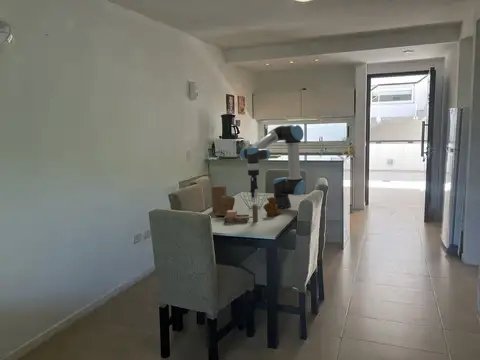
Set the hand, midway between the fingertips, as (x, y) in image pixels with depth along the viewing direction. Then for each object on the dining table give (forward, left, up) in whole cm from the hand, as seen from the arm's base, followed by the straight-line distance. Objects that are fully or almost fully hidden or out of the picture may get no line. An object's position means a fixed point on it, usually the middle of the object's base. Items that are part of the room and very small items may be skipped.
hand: (254, 200), depth 275 cm
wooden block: (+32, -35, -15) cm, 50 cm away
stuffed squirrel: (-10, -18, -15) cm, 25 cm away
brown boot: (+24, -18, -15) cm, 34 cm away
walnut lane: (+13, 0, -15) cm, 20 cm away
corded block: (+9, 0, -14) cm, 17 cm away
